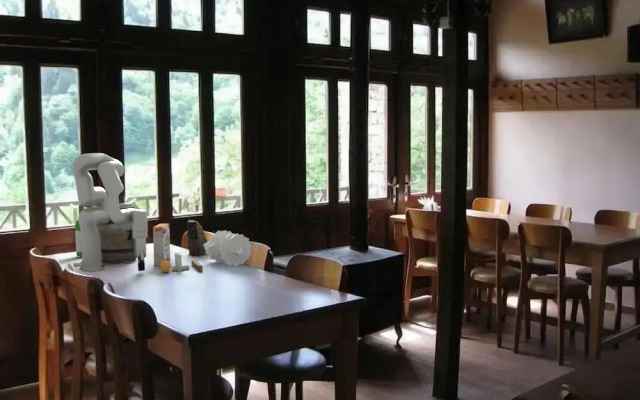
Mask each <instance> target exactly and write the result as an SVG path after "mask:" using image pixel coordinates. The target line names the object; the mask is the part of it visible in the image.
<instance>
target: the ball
mask: <svg viewBox="0 0 640 400" xmlns="http://www.w3.org/2000/svg"><path fill="white" fill-rule="evenodd" d="M158 268H159V270H160V271H161V272H162V273H168V272H170V271H171V270H172V264H171V261H162V262H161V263H160V265H159V266H158Z"/></svg>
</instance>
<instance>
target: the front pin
mask: <svg viewBox="0 0 640 400" xmlns="http://www.w3.org/2000/svg"><path fill="white" fill-rule="evenodd" d="M188 270H190V264H184V265H183V264H182V271H188ZM171 271H172V272H175V271H176V272H177V266H175V265H173V266H172V265H171Z"/></svg>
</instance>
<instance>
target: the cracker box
mask: <svg viewBox="0 0 640 400" xmlns="http://www.w3.org/2000/svg"><path fill="white" fill-rule="evenodd" d="M170 231H171V230H170V223H159V224H157V225H155V226H152V237H153V240H152V241H153V265H154V266H156V267H157V266H158V267H159V265H160V263H161V262H162V261H169V262H171V243H170V242H171V239H170V234H171V233H170Z"/></svg>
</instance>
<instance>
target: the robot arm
mask: <svg viewBox="0 0 640 400" xmlns="http://www.w3.org/2000/svg"><path fill="white" fill-rule="evenodd" d="M71 165H72V166H71V167H72V174H73V177H74V182H75V187H76V193H77V200H78V203H79V205H80V204H81V205H82V206H84V207H91V206H93V207H94V208H92V207H91V208H87V209H84V210H83V211H82V212H81V213H80V214H79V213H78V216H77V217H78V218H77V220H78V221H79V225H80V230H81V242H82V258H81V259H82V260H81V261H79V262H73V264H72V266H73V267H74V268H79V271H80V270H82V271H81V272H98V271H97V270H99V271H103V270H105V269H106V266H105V265H103V263H102V256H101V236H100V232H99V230H98V228H97V226H99V225H104V224H106V223H108V222H109V220H110V218H111V220H112V221H113V222H114V223H115V224H116V225H125V224H130V223H132V238H134V255H135V257H136V259H137V271H138V272H144V271H146V264H145V263H146V262H145V258H146V257H147V238H148V237H149V233H148V232H149V229H148V228H149V227H148V213H147V210H146V209H136V208H135V209H131V208H130V209H123V210H121V209H120V207H119V205H120V204H119V201H118V199H119V196H120V193H122V192H123V191H124V189H125V188H124V185H123V183H122V180H121V178H120V177H122V176H123V175H124V173H125V166H124V165H123V164H122V162H121V161H119V160H118V159H115V158H113V157H111V156H109V155H107V154H106V153H101V152H94V153H83V154H80V155H78V156H76V157H75V158H74V159H73V161H72V164H71ZM96 170H97V173H98V176H99V178H100V180H101V182H102V185H103V187H104V188H103V187H101V186H94V180H93V179H94V178H93V176H92V175H91V173H90V172H89V171H96ZM102 269H103V270H102Z"/></svg>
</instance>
